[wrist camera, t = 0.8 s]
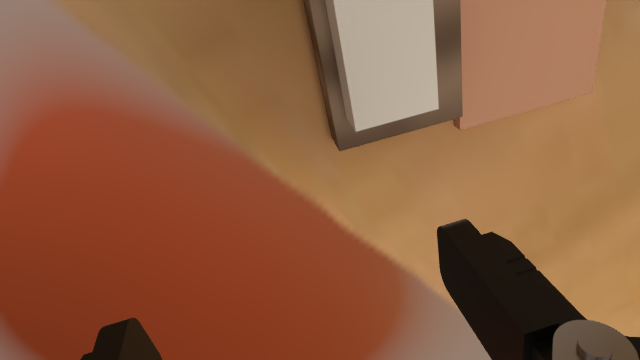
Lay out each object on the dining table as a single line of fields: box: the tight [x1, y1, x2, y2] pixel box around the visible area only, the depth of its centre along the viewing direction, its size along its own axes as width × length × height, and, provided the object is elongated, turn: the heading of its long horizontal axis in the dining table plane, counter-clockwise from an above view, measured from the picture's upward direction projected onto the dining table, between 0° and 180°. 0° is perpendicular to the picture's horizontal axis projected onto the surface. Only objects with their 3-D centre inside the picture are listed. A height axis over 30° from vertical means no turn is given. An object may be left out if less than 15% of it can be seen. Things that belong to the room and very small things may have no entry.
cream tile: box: [325, 0, 439, 132], centre depth 28 cm, size 9×6×2 cm, turn 12°
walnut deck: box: [304, 0, 463, 151], centre depth 30 cm, size 14×10×2 cm
